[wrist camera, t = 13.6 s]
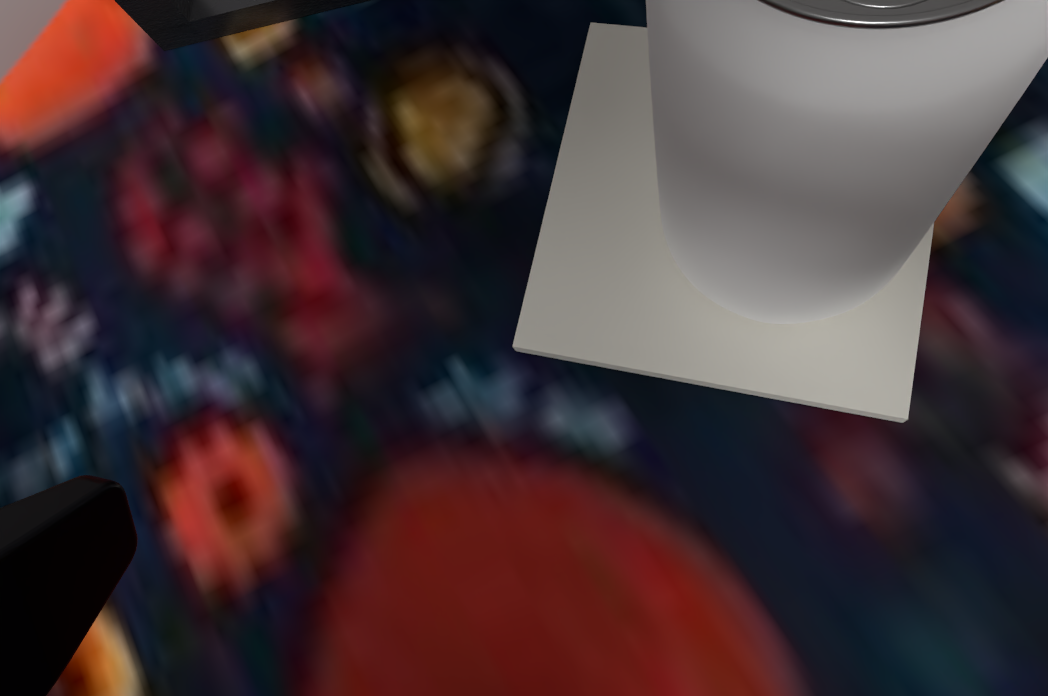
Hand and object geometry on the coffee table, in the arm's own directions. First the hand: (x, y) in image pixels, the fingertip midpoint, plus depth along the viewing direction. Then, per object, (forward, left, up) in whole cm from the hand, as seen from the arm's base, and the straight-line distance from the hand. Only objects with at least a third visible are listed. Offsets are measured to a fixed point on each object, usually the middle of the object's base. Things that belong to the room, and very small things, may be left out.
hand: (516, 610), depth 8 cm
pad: (+11, -1, -14) cm, 17 cm away
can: (+10, -2, -13) cm, 17 cm away
